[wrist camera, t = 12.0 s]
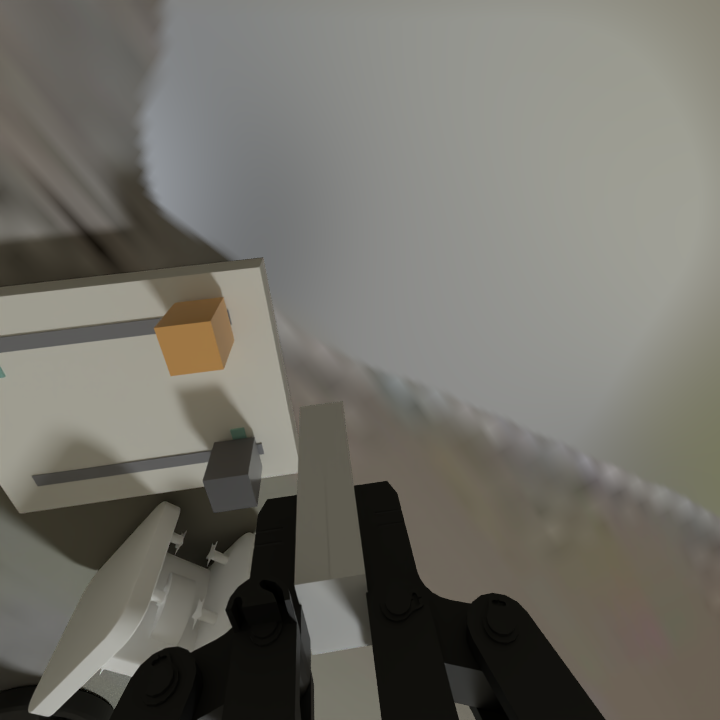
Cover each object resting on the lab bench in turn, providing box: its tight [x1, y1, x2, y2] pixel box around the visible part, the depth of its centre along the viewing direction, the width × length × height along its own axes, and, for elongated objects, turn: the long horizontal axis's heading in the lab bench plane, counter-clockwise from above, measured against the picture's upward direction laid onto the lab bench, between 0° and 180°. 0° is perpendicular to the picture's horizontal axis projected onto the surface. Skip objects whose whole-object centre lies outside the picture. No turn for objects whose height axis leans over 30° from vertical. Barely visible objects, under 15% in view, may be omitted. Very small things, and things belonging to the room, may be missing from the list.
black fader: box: [203, 437, 262, 513], centre depth 30 cm, size 3×3×4 cm
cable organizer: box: [28, 501, 255, 717], centre depth 35 cm, size 15×11×12 cm
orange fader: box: [154, 297, 234, 376], centre depth 25 cm, size 3×3×4 cm
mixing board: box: [0, 258, 299, 514], centre depth 30 cm, size 22×17×3 cm
